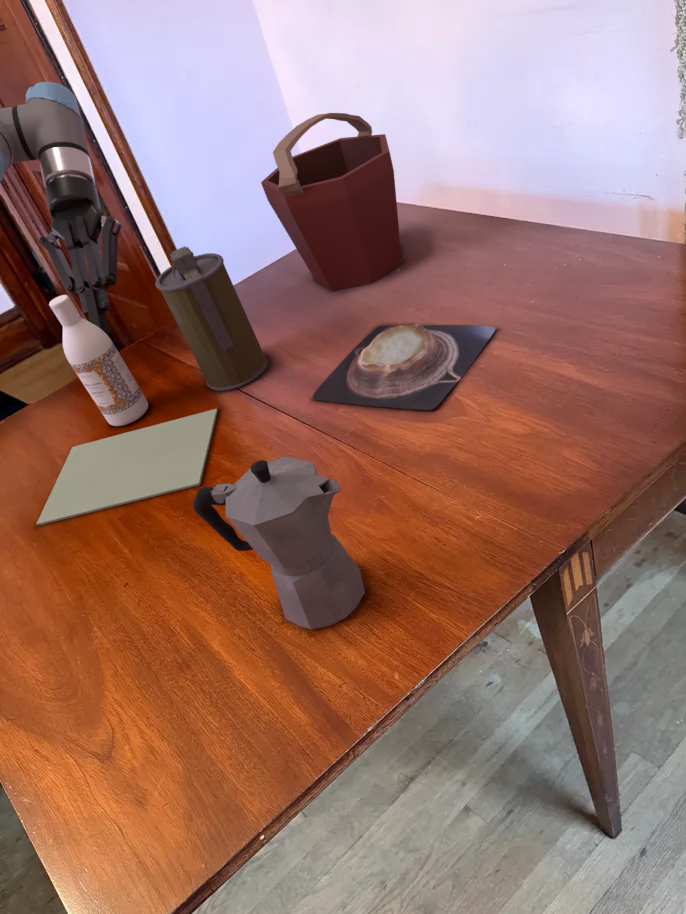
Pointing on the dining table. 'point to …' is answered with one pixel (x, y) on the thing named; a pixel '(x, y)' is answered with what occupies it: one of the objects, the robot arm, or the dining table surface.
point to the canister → (212, 319)
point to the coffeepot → (289, 537)
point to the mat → (131, 467)
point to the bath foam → (99, 366)
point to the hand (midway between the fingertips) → (101, 332)
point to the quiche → (405, 366)
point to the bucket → (338, 204)
